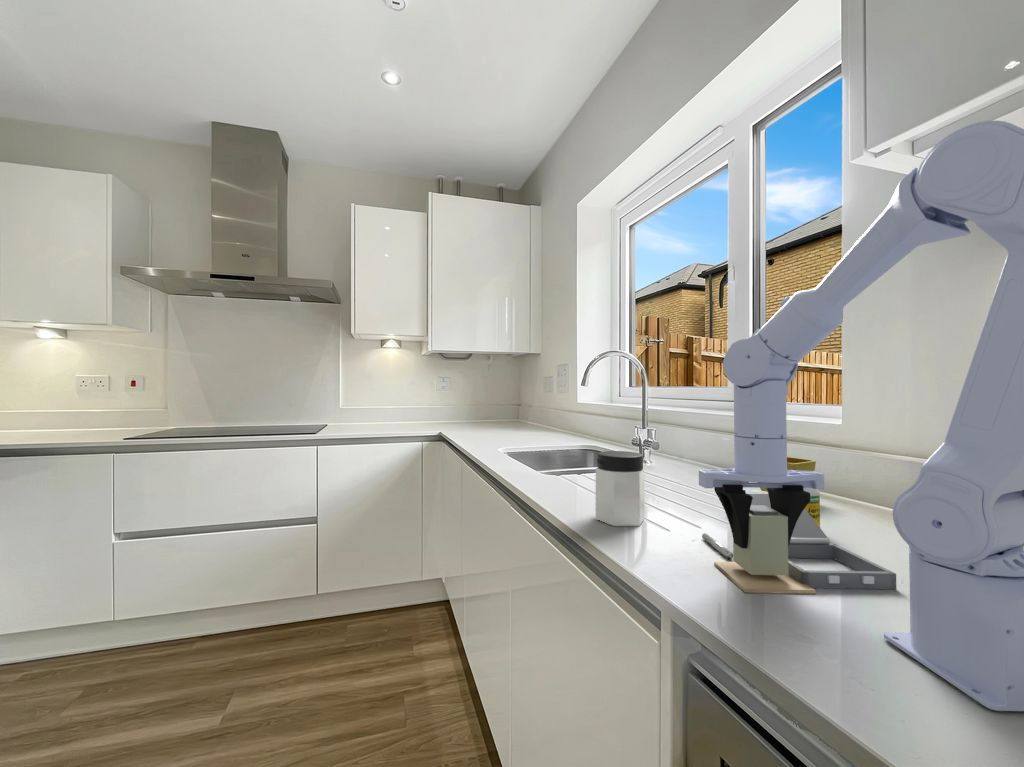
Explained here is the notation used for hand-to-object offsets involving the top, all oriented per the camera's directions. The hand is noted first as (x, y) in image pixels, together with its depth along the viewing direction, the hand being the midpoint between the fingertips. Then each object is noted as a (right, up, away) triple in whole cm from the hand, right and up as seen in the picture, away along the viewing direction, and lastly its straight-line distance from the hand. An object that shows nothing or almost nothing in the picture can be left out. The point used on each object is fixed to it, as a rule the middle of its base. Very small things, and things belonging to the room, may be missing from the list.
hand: (760, 545), depth 53 cm
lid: (+9, -4, +11) cm, 15 cm away
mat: (0, -4, 0) cm, 4 cm away
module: (0, -3, 0) cm, 3 cm away
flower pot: (+28, -5, +39) cm, 48 cm away
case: (+9, -4, +2) cm, 10 cm away
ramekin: (+15, -5, +27) cm, 31 cm away
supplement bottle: (+18, -5, +18) cm, 26 cm away
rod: (-1, -4, +10) cm, 11 cm away
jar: (-11, -5, +24) cm, 27 cm away
